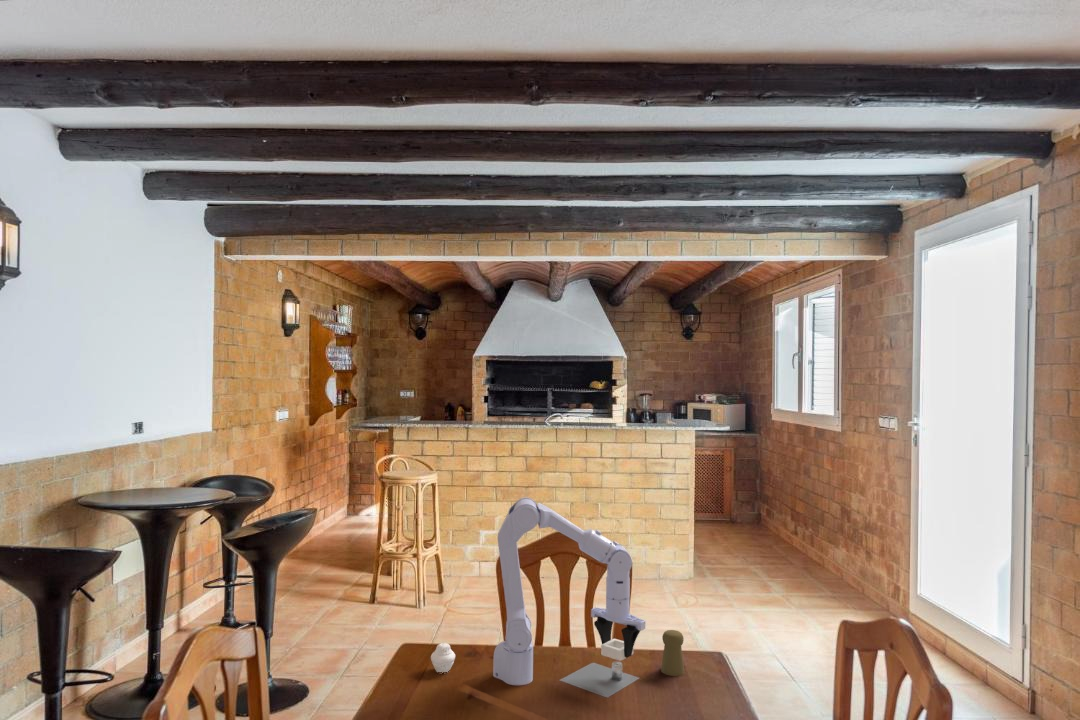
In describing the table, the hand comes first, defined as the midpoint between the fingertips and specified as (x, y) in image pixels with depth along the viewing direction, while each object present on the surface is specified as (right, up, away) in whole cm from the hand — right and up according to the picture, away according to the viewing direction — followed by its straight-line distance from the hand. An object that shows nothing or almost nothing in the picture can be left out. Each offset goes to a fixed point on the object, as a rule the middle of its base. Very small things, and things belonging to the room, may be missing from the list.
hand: (617, 652), depth 172 cm
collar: (0, 0, 0) cm, 0 cm away
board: (-4, -7, -1) cm, 9 cm away
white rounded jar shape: (-43, -7, +6) cm, 44 cm away
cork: (+14, -8, +5) cm, 17 cm away
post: (0, -6, 0) cm, 6 cm away
